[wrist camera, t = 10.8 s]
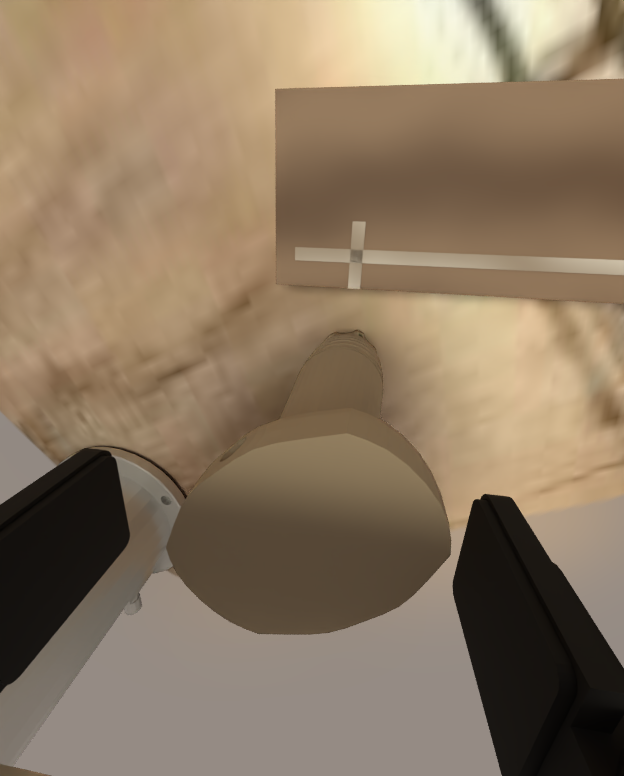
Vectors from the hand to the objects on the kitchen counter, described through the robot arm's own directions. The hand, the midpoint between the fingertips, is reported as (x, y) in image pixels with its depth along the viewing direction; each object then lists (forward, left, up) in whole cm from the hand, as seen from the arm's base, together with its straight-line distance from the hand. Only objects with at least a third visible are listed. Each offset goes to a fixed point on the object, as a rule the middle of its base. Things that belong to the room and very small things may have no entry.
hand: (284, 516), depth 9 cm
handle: (+1, -1, -14) cm, 14 cm away
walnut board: (+9, -8, -14) cm, 18 cm away
